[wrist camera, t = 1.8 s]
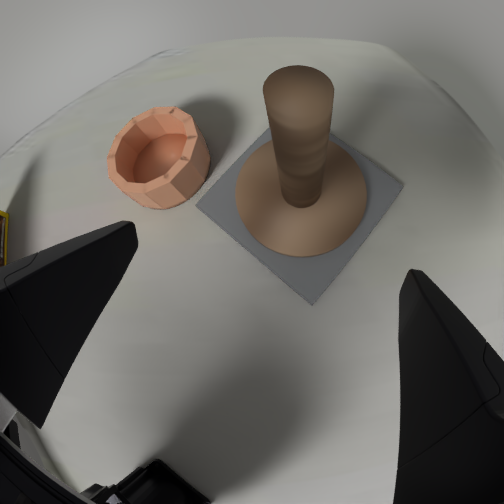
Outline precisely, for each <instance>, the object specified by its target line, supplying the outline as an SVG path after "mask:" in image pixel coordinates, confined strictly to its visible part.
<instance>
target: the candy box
mask: <svg viewBox="0 0 504 504" xmlns="http://www.w3.org/2000/svg"><path fill="white" fill-rule="evenodd" d="M8 219H9V214H8V213H5V212H3V211H1V210H0V267H2V266H5V265H6V258H7V231H8Z"/></svg>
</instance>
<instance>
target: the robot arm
mask: <svg viewBox="0 0 504 504" xmlns="http://www.w3.org/2000/svg"><path fill="white" fill-rule="evenodd" d="M137 248H138V238H137V233H136V228H135V224H134V223H133V222H130V221H120V222H117V223H114V224H111V225H108V226H106V227H103V228H100V229H97V230H94V231H92V232H89V233H86V234H84V235H81V236H78V237H76V238H73V239H70V240H68V241H65V242H62V243H60V244H57V245H55V246H52V247H50V248H47V249H45V250H42V251H40V252H39V253H38V252H37V253H35V254H32V255H30V256H27V257H25V258H23V259H20V260H18V261H15V262H12V263H10V264H7V265H5V266H2V267H0V504H204V503H206V504H211V502H210V501H209V500H208V499H207V498H205V497H204V496H203V495H201V494H200V493H199V492H198V491H196V490H195V489H194V488H193V487H191V486H190V485H189V484H188V483H186V482H185V481H184V480H183V479H182V478H180V477H179V476H178V475H177V474H176V473H175V472H173V471H172V470H171V469H170V468H169V467H168V466H167V465H165V464H164V463H163V462H162V461H161V460H159V459H156V460H154V461H153V462H152V463H151V464H149V465H148V466H147V467H146V468H145V469H144V468H143V467H138V468H137V469H135V470H134V471H133V472H132V473H130V474H129V475H128V476H127V477H125V478H124V479H123V480H122V481H120V482H119V483H118V484H117V485H115V484H113V485H111V486H109V487H107V486H105V487H104V486H101V485H99V484H94V485H92V486H90V487H89V488H87V489H86V490H84V491H83V492H81V493H78V492H77V491H75V490H74V489H72V488H71V487H69V486H68V485H66V484H65V483H63V482H62V481H60V480H59V479H58V478H56V477H55V476H53V475H52V474H51V473H49V472H48V471H47V470H45V469H44V468H43V467H41V466H40V465H39V464H37V463H36V462H35V461H34V460H33V459H32V458H30V457H29V456H28V455H27V454H25V453H24V452H23V451H22V450H21V448H20V441H19V434H18V426H17V423H16V422H15V421H14V420H13V419H12V418H13V416H14V415H15V413H16V412H17V411H18V412H19V413H20V414H22V415H23V416H24V417H25V418H26V419H28V420H29V421H30V422H31V423H33V424H34V425H35V426H37V427H38V428H39V429H41V428H42V426H43V424H44V422H45V420H46V418H47V415H48V413H49V411H50V409H51V407H52V405H53V402H54V400H55V398H56V396H57V394H58V392H59V390H60V388H61V386H62V384H63V382H64V379H65V378H66V376H67V374H68V372H69V370H70V368H71V366H72V364H73V362H74V360H75V359H76V357H77V355H78V353H79V351H80V349H81V347H82V346H83V344H84V342H85V340H86V338H87V337H88V335H89V333H90V331H91V330H92V328H93V326H94V324H95V323H96V321H97V319H98V318H99V316H100V314H101V313H102V311H103V309H104V308H105V306H106V304H107V303H108V301H109V299H110V298H111V296H112V294H113V293H114V291H115V290H116V288H117V286H118V285H119V283H120V281H121V279H122V277H123V275H124V274H125V272H126V270H127V268H128V266H129V264H130V262H131V260H132V258H133V256H134V254H135V252H136V250H137ZM398 342H399V361H400V438H399V454H398V467H397V468H398V469H397V475H396V485H395V493H394V500H393V504H504V361H503V360H502V359H501V357H500V356H499V355H498V354H497V353H496V351H495V350H494V349H493V348H492V347H491V345H490V344H489V343H488V342H486V339H485V338H484V337H483V336H482V335H481V334H480V332H479V331H478V330H477V329H476V328H475V327H474V325H473V324H472V323H471V322H470V321H469V320H468V319H467V317H466V316H465V315H464V314H463V313H462V312H461V311H460V310H459V309H458V308H457V306H456V305H455V304H454V303H453V302H452V301H451V300H450V299H449V298H448V297H447V296H446V295H445V294H444V293H443V292H442V291H441V290H440V288H439V287H438V286H437V285H436V284H435V283H434V282H433V281H432V280H431V279H430V278H429V277H428V276H427V275H426V274H425V273H424V272H423V271H421V270H415V269H410V270H409V271H408V273H407V275H406V278H405V280H404V283H403V285H402V287H401V290H400V294H399V332H398ZM156 463H157V464H159V466H158V465H157V464H156Z"/></svg>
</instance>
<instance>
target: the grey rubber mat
mask: <svg viewBox="0 0 504 504" xmlns="http://www.w3.org/2000/svg"><path fill="white" fill-rule="evenodd" d="M270 140H272V136H271V130H270V127H269V128H268V129H267V130H266V131H265V132H264V133H263V134H262V135H261V136H260V137H259V138H258V139H257V140H256V141H255V142H254V143H253V144H252V145H251V146H250V147H249V148H248V149H247V150H246V151H245V152H244V153H243V154H242V155H241V156H240V157H239V158H238V159H237V161H236V162H235V163H234V164H233V165H232V166H231V167H230V168H229V169H228V170H227V171H226V172H225V173H224V174H223V175H222V176H221V177H220V179H219V180H218V181H217V182H216V183H215V184H214V185H213V186H212V187H211V188H210V189H209V191H208V192H207V193H206V194H205V195H204V196H203V197H202V198H201V199H200V200H199V202H198V203H197V204H196V205H195V206H196V207H197V208H198V209H200V210H201V211H202V212H203V213H204V214H205V215H207V216H208V217H209V218H210V219H211V220H212V221H214V222H215V223H216V224H217V225H218V226H219V227H221V228H222V229H223V230H224V231H225V232H226V233H228V234H229V235H230V236H231V237H232V238H233V239H235V240H236V241H237V242H238V243H239V244H241V245H242V246H243V247H244V248H245V249H246V250H248V251H249V252H250V253H251V254H252V255H253V256H255V257H256V258H257V259H258V260H259V261H260V262H262V263H263V264H264V265H265V266H266V267H267V268H269V269H270V270H271V271H272V272H273V273H274V274H276V275H277V276H278V277H279V278H280V279H282V280H283V281H284V282H285V283H286V284H287V285H289V286H290V287H291V288H292V289H293V290H294V291H296V292H297V293H298V294H299V295H300V296H301V297H303V298H304V299H305V300H306V301H307V302H308V303H310V304H311V305H313V304H314V303H315V301H316V300H317V299H318V298H319V297H320V295H321V294H322V293H323V292H324V291H325V289H326V288H327V287H328V286H329V285H330V283H331V282H332V281H333V280H334V278H335V277H336V276H337V275H338V274H339V272H340V271H341V270H342V269H343V267H344V266H345V265H346V264H347V262H348V261H349V260H350V258H351V257H352V256H353V255H354V253H355V252H356V251H357V249H358V248H359V247H360V246H361V244H362V243H363V242H364V240H365V239H366V238H367V236H368V235H369V234H370V232H371V231H372V230H373V228H374V227H375V226H376V224H377V223H378V222H379V220H380V219H381V218H382V216H383V215H384V213H385V212H386V211H387V209H388V208H389V206H390V205H391V204H392V202H393V201H394V199H395V198H396V197H397V195H398V194H399V192H400V191H401V189H402V188H403V186H402V185H401V184H400V183H399V182H397V181H396V180H395V179H393V178H392V177H391V176H390V175H388V174H387V173H386V172H384V171H383V170H382V169H380V168H379V167H378V166H376V165H375V164H374V163H372V162H371V161H370V160H368V159H367V158H366V157H364V156H363V155H361V154H360V153H359V152H357V151H356V150H354V149H353V148H351V147H350V146H348V145H347V144H346V143H344V142H343V141H341V140H340V139H338V138H337V137H335V136H334V135H332V134H331V133H329V140H330V141H332V142H334V143H336V144H337V145H339V146H340V147H342V148H343V149H344V150H345V151H347V152H348V153H349V154H350V155H351V156H352V158H353V159H354V160H355V161H356V163H357V164H358V166H359V168H360V170H361V172H362V174H363V177H364V180H365V184H366V190H367V202H366V208H365V211H364V215H363V217H362V219H361V222H360V224H359V225H358V227H357V228H356V230H355V231H354V233H353V234H352V235H351V236H350V237H349V238H348V240H346V241H345V242H344V243H343V244H342V245H340V246H339V247H337V248H336V249H334V250H332V251H330V252H327V253H325V254H322V255H318V256H313V257H290V256H286V255H282V254H279V253H277V252H274V251H272V250H270V249H268V248H267V247H265V246H264V245H262V244H261V243H259V242H258V241H257V240H256V239H255V238H254V237H253V236H252V235H251V233H250V232H249V231H248V230H247V228H246V227H245V225H244V223H243V222H242V220H241V218H240V215H239V213H238V209H237V206H236V199H235V188H236V182H237V178H238V175H239V172H240V170H241V168H242V166H243V165H244V163H245V161H246V160H247V159H248V158H249V156H250V155H251V154H252V153H253V152H254V151H255V150H256V149H258V148H259V147H260V146H262V145H263V144H265V143H267V142H268V141H270Z"/></svg>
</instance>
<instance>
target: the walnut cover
mask: <svg viewBox="0 0 504 504" xmlns="http://www.w3.org/2000/svg"><path fill="white" fill-rule="evenodd" d="M263 94H264V99H265V104H266V110H267V115H268V120H269V125H270V130H271V136H272V140H270V141H268V142H267V143H265V144H263V145H262V146H260V147H259V148H258V149H256V150H255V151H254V152H253V153H252V154H251V155H250V156H249V158H248V159H247V160H246V161H245V163H244V165H243V166H242V168H241V170H240V172H239V175H238V178H237V182H236V188H235V199H236V206H237V209H238V213H239V215H240V218H241V220H242V222H243V223H244V225H245V227H246V228H247V230H248V231H249V232H250V233H251V235H252V236H253V237H254V238H255V239H256V240H257V241H258V242H259V243H261V244H262V245H264V246H265V247H267V248H268V249H270V250H272V251H274V252H277V253H279V254H282V255H286V256H290V257H313V256H318V255H322V254H325V253H327V252H330V251H332V250H334V249H336V248H337V247H339V246H340V245H342V244H343V243H344V242H345V241H346V240H348V238H349V237H350V236H351V235H352V234H353V233H354V231H355V230H356V228H357V227H358V225H359V224H360V222H361V219H362V217H363V215H364V211H365V208H366V202H367V190H366V184H365V180H364V177H363V174H362V172H361V170H360V168H359V166H358V164H357V163H356V161H355V160H354V159H353V158H352V156H351V155H350V154H349V153H348V152H347V151H345V150H344V149H343V148H342V147H340V146H339V145H337V144H336V143H334V142H332V141H330V140H329V133H330V125H331V116H332V108H333V99H334V87H333V84H332V82H331V80H330V79H329V78H328V77H327V76H326V75H325V74H324V73H323V72H321V71H319V70H317V69H315V68H312V67H308V66H300V65H295V66H287V67H284V68H281V69H278V70H276V71H275V72H273V73H272V74H271V75H269V76H268V78H267V79H266V81H265V82H264V85H263Z"/></svg>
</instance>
